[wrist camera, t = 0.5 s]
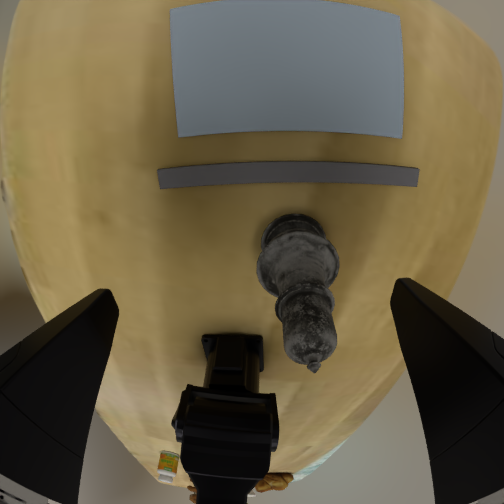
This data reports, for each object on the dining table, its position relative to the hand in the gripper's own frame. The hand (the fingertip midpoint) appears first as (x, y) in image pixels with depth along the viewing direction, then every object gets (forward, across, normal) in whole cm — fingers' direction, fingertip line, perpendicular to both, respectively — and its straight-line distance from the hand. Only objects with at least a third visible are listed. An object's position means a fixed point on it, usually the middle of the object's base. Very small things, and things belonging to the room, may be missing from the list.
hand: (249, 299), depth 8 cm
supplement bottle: (+16, +29, +73) cm, 80 cm away
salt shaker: (+14, -3, +6) cm, 15 cm away
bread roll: (+16, -1, +96) cm, 98 cm away
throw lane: (+13, -3, -7) cm, 15 cm away
